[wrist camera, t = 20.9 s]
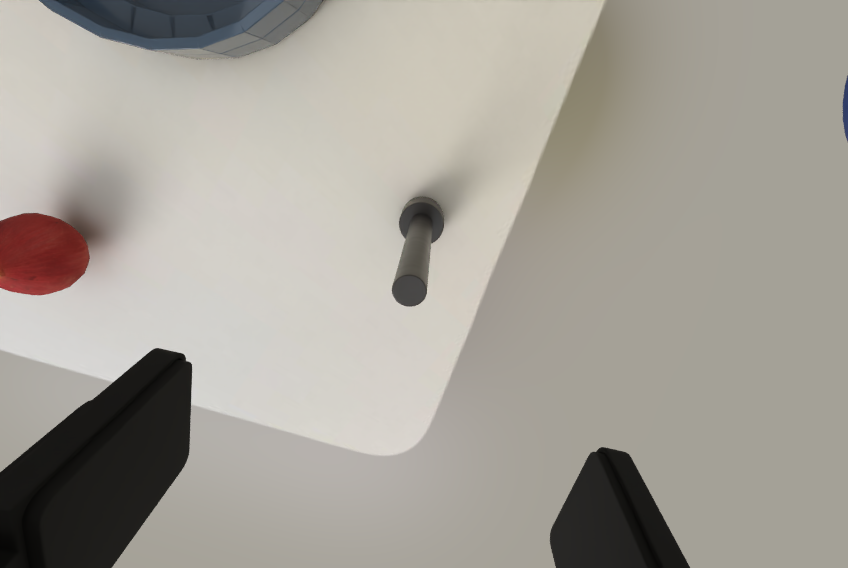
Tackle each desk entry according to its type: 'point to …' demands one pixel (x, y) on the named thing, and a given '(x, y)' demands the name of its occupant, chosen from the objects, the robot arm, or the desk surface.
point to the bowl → (189, 23)
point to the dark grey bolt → (416, 249)
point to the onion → (40, 254)
